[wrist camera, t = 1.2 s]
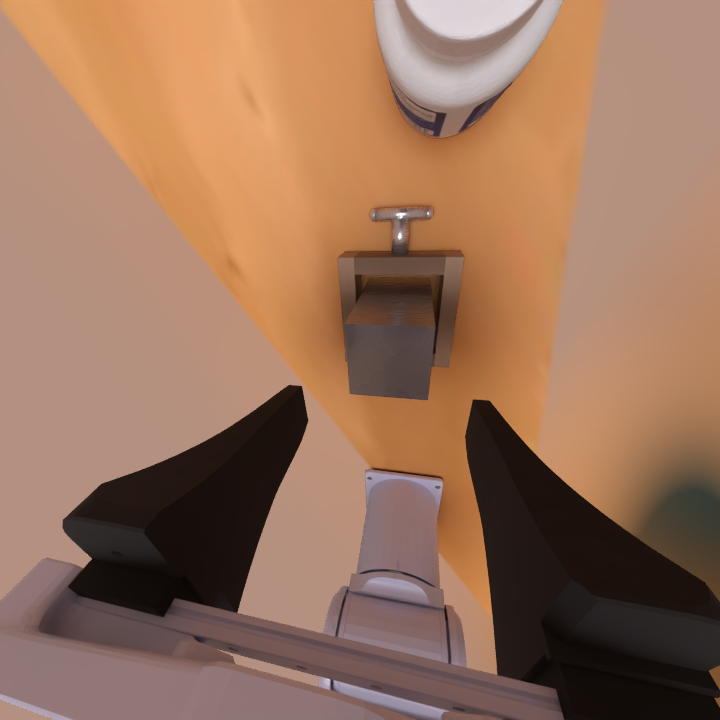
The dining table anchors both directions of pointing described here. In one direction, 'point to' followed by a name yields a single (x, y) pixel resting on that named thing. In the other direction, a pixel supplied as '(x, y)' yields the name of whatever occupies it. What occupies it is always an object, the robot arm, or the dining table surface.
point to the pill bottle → (457, 55)
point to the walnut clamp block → (406, 273)
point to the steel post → (391, 338)
